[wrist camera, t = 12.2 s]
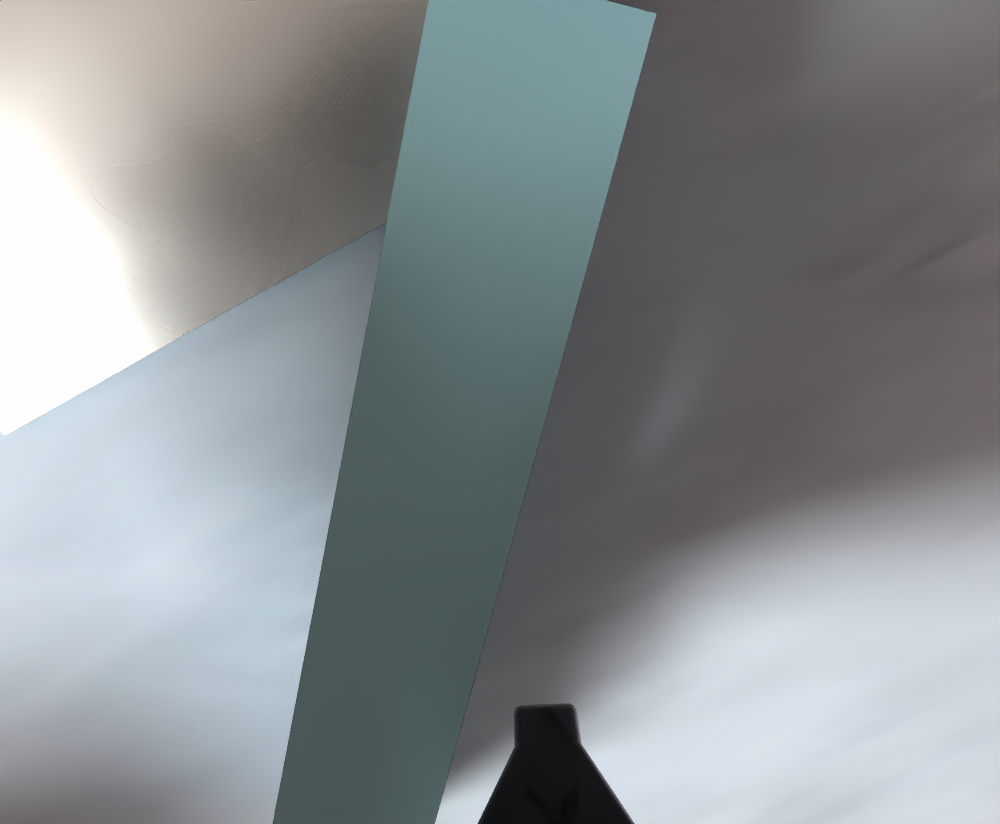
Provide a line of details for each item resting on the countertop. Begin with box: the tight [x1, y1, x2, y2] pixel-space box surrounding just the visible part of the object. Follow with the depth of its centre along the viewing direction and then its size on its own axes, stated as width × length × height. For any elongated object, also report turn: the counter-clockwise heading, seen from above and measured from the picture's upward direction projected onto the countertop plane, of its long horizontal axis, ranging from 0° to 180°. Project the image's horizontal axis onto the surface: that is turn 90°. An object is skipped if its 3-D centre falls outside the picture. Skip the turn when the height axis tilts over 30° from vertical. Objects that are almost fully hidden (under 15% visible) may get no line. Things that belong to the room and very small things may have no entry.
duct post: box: [0, 0, 429, 434], centre depth 6 cm, size 8×4×5 cm, turn 118°
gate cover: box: [273, 0, 657, 824], centre depth 8 cm, size 10×2×5 cm, turn 167°
